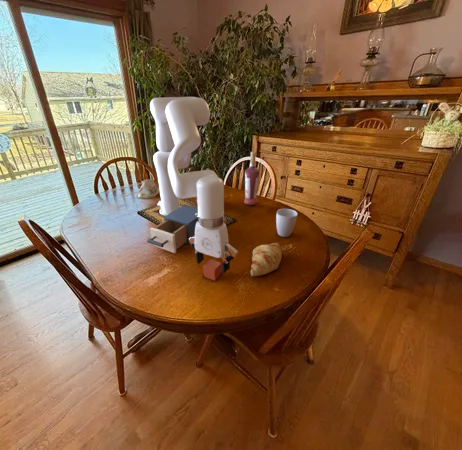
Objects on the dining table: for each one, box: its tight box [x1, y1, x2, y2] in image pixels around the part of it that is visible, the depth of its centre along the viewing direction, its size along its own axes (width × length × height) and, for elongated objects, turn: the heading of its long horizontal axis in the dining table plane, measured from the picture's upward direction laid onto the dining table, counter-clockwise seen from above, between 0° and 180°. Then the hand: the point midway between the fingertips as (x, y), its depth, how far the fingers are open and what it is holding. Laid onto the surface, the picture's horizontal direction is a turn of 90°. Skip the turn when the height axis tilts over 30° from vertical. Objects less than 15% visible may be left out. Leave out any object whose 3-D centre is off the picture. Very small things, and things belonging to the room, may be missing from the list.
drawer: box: [146, 219, 188, 254], centre depth 94 cm, size 18×11×8 cm, turn 147°
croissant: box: [250, 241, 283, 277], centre depth 83 cm, size 21×10×8 cm, turn 143°
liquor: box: [243, 151, 260, 207], centre depth 123 cm, size 7×7×28 cm
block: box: [202, 258, 222, 282], centre depth 79 cm, size 4×4×4 cm
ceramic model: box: [137, 178, 160, 199], centre depth 147 cm, size 14×11×10 cm
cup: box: [275, 208, 298, 238], centre depth 99 cm, size 8×8×10 cm
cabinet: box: [163, 204, 198, 245], centre depth 103 cm, size 15×13×10 cm
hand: (212, 266), depth 77 cm, fingers open, 9 cm apart
